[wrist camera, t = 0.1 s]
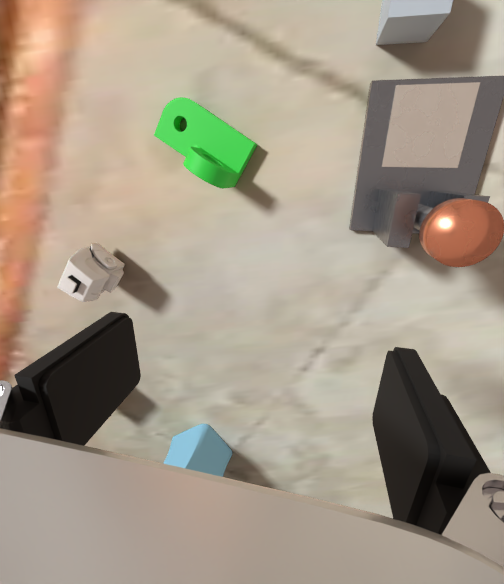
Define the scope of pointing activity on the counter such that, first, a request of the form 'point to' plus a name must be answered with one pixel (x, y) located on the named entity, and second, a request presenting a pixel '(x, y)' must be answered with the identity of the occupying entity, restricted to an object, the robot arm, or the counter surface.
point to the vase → (199, 451)
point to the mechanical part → (205, 142)
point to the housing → (410, 20)
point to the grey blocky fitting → (91, 273)
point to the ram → (459, 231)
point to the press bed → (421, 149)
